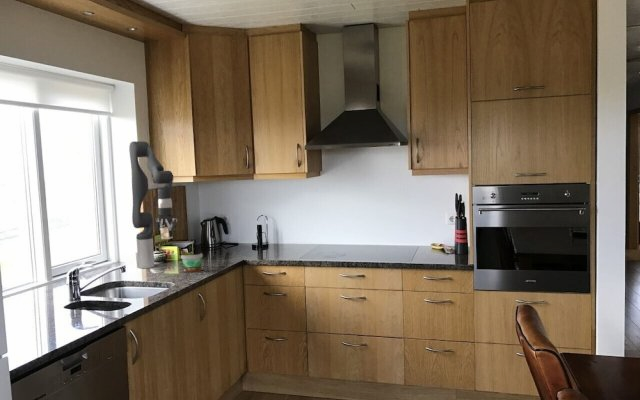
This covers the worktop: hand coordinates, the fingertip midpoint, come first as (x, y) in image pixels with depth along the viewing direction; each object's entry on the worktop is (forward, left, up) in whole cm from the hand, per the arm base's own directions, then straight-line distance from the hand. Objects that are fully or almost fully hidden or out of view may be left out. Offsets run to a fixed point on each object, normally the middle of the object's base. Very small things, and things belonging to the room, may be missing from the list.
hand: (166, 236), depth 294 cm
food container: (+12, +5, -21) cm, 25 cm away
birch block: (0, 0, -1) cm, 1 cm away
